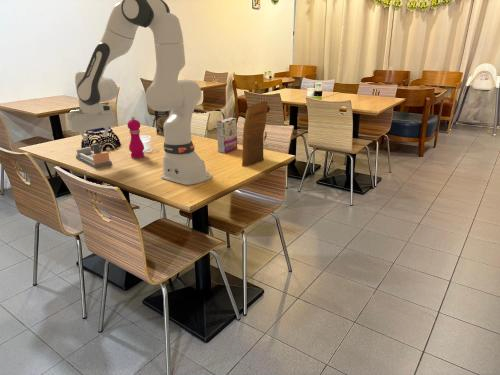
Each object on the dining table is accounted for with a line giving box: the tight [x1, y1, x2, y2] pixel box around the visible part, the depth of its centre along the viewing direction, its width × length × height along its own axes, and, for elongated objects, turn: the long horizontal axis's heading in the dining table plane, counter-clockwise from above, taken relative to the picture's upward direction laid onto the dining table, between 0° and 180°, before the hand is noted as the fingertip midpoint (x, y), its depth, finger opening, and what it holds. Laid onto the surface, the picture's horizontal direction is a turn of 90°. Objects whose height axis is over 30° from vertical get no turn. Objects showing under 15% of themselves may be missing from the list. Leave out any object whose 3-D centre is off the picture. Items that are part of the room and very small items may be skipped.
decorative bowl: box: [80, 126, 121, 152], centre depth 206 cm, size 20×20×14 cm
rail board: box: [75, 146, 113, 169], centre depth 182 cm, size 22×8×6 cm, turn 45°
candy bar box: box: [216, 117, 238, 154], centre depth 197 cm, size 11×5×16 cm, turn 146°
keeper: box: [92, 143, 102, 158], centre depth 177 cm, size 5×4×8 cm
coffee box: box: [154, 110, 171, 136], centre depth 233 cm, size 9×6×16 cm
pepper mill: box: [127, 116, 145, 159], centre depth 187 cm, size 7×7×20 cm
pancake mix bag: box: [241, 100, 268, 167], centre depth 175 cm, size 7×19×28 cm, turn 143°
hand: (95, 138), depth 174 cm, fingers open, 8 cm apart
